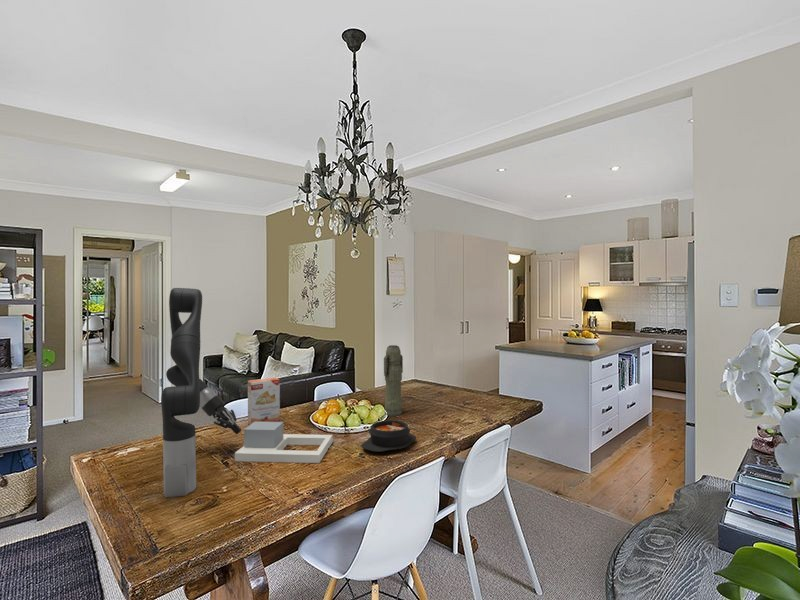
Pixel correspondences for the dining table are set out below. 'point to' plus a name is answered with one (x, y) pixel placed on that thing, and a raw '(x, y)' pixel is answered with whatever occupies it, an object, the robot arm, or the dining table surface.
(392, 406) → the stone statue
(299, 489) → the dining table surface
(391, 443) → the casserole
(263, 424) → the slate block
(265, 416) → the cracker box
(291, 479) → the dining table surface
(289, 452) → the hole deck
